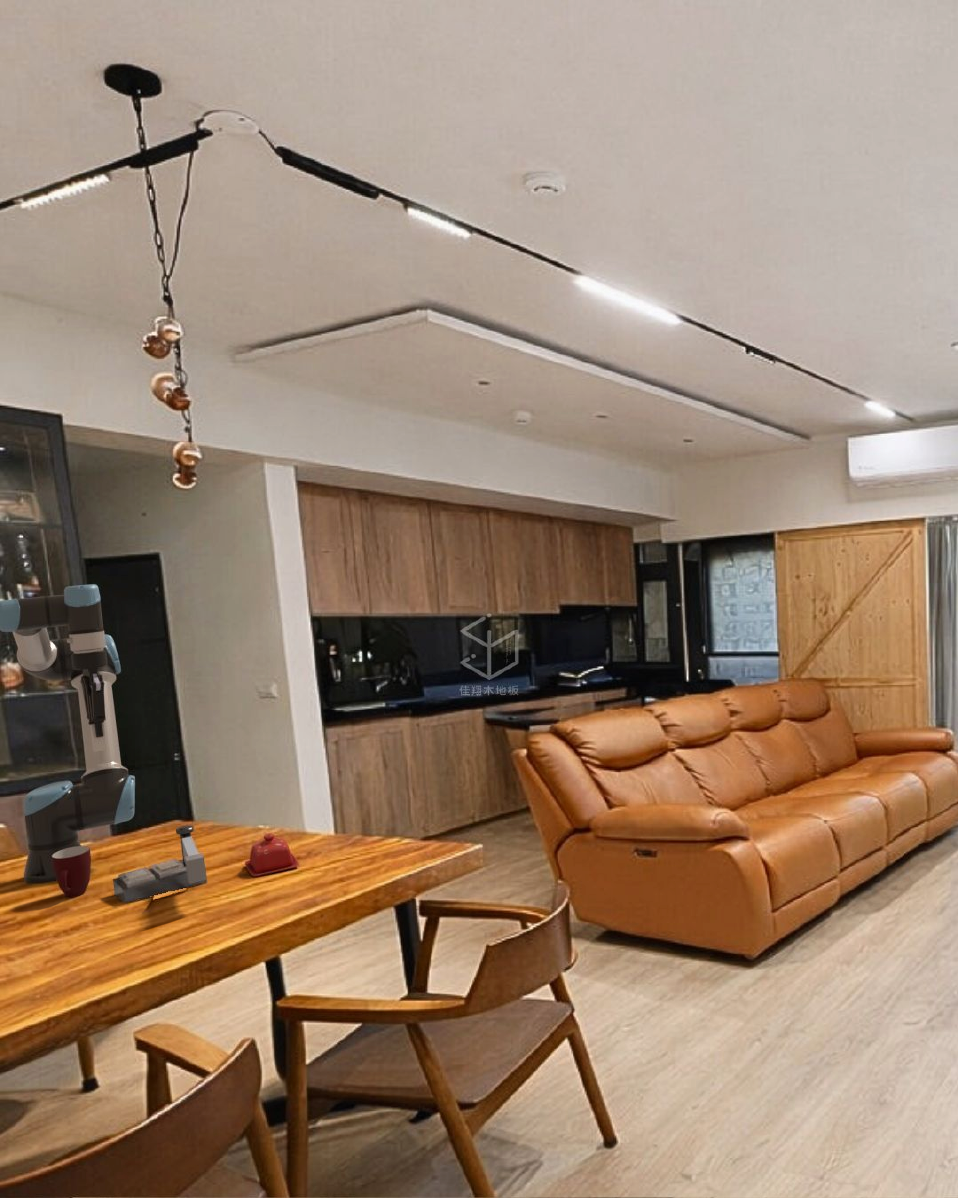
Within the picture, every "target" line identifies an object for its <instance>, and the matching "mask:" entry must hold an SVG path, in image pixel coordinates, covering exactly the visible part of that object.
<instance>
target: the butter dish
mask: <svg viewBox="0 0 958 1198" xmlns="http://www.w3.org/2000/svg"><path fill="white" fill-rule="evenodd" d="M250 849H251V850H250V857H249V859H248V860H245V861H244V865H245V867H246V869H247V870H248V872H249V874H250V875H252V876H253V877H261V876H265V875H270V874H274V873H278V872H279V873H280V872H282V871H287V870H290V869H295V868H297V867H299V866H300V862H299V861H298V859H297V858H296V857H295V855H294V854H293V853H292V852H291V850H290V846H289V844H288V843H287V841H286V840H285V839H284V838H280V837H275V834H274V833H272V832H271V833H268V832H267V833H266V834H264V835H263V839H262V840H259V841H257V842H255V843H254V844H252V846H251V848H250Z"/></svg>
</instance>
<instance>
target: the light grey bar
mask: <svg viewBox="0 0 958 1198" xmlns="http://www.w3.org/2000/svg"><path fill="white" fill-rule="evenodd" d="M182 846H183V855H184V861H185V864H186V870H187V879H188V882H189V884H190V883H195V882H199V881H203V880H206V877H207V871H205V868H206V864H205V863H206V862H205V856H204V854H203V853H202V852H201V853H199V850H198V848H197V846H196V843H195V841H194V839H193V837H192V835H191V837H186V838H182Z"/></svg>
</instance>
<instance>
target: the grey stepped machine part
mask: <svg viewBox="0 0 958 1198" xmlns="http://www.w3.org/2000/svg"><path fill="white" fill-rule="evenodd" d="M194 831H195V827H194V825H183V826H179V827H177V828H175V834H176V835H179V838H180V848H181V855H182V859H180V860H178V859H176V858H174V859H170V860H165V861H163V862H159V863H155V864H151V865H149V868H146V867H142V868H141V867H140V868H137V869H134V870H130V871H127V872H123V873H120V874H117V877H116V878H114V879H112V881H113V892H114V895H115V896H116V898H118V899H119V900H120V899H121V900H122V902H123V903H124V904H125V903H126V904H129V903H128V902H130V903H133V902H132V901H134V902H136V901H135V900H138V899H142V900H145V898H146V899H149V898H148V897H150V896H154V895H158V894H162V893H166V892H168V891H175V890H179V889H183V888H187V887H188V888H191V887H190V886H192V887H195V886H194V885H196V886H199V885H198V884H200V885H203V884H202V883H204V884H207V883H208V878H207V876H206V880H203V881H199V882H195V883H190V884H189V882H188V879H187V870H186V864H185V861H184V855H183V846H182V838H186V837H191V836H192V833H193V832H194ZM206 870H207V869H206V867H205V871H206ZM206 872H207V871H206ZM188 888H187V889H188ZM150 898H151V897H150ZM121 900H120V901H121ZM138 901H139V900H138Z"/></svg>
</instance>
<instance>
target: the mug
mask: <svg viewBox="0 0 958 1198" xmlns="http://www.w3.org/2000/svg"><path fill="white" fill-rule="evenodd" d="M52 864H53V869H54V872H55V875H56V879H57V881H56V882H57V884H58V887H59V889H60V890H61V891H62V893H63V894H64V895H65V897H67V898H75V897H79V896H82V895H84V894H85V893H86V891H87V888H88V887H89V884H90V878H91V869H92V868H91V867H92V866H91V865H92V855H91V850H90V847H89V846H87V845H86V846H85V845H81V846H76V847H70V848H66V849H63V850H60V851H58V852H56V853H54V854H53V855H52Z"/></svg>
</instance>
